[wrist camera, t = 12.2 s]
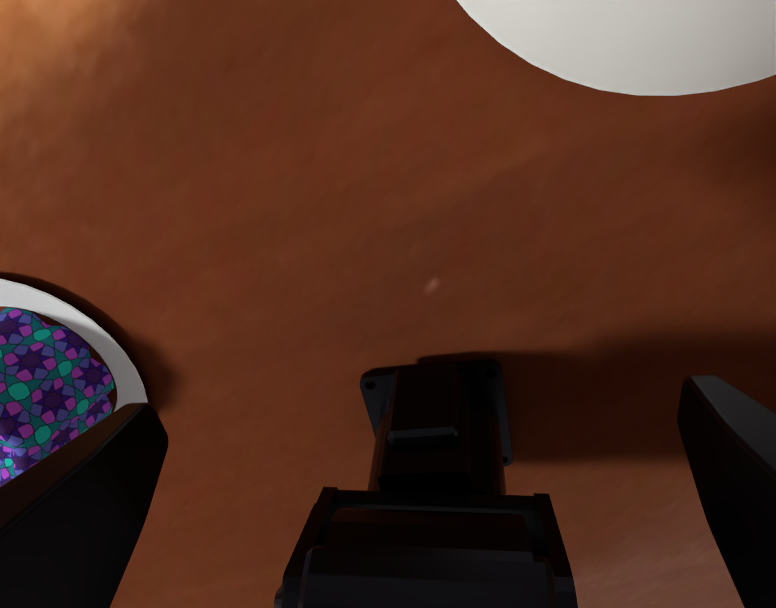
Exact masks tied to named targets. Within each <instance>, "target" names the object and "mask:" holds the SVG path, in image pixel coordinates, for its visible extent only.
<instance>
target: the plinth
mask: <svg viewBox="0 0 776 608" xmlns="http://www.w3.org/2000/svg"><path fill="white" fill-rule="evenodd" d="M457 1H458V2H459V4H460V5H461V6H462V7H463V8H464V10H465V11H466V12H467V13H468V14H469V16H470V17H471V18H472V19H474V20H475V21H476V22H477V23H478V24H479V25H480V26H481V27H482V28H484V29H485V30H486V31H487V32H488V33H489V34H490V35H491V36H492V37H494V38H495V39H496V40H497V41H498V42H499V43H500V44H502V45H503V46H505V47H506V48H508V49H509V50H511V51H512V52H514V53H515V54H517V55H518V56H520V57H521V58H523V59H524V60H526V61H527V62H529V63H530V64H532V65H535V66H537V67H539V68H541V69H543V70H545V71H547V72H550V73H552V74H554V75H556V76H558V77H560V78H562V79H565V80H568V81H571V82H575V83H578V84H582V85H585V86H588V87H592V88H595V89H598V90H604V91H611V92H618V93H624V94H631V95H656V96H677V95H685V94H694V93H702V92H711V91H718V90H722V89H726V88H730V87H734V86H738V85H743V84H747V83H751V82H755V81H759V80H762V79H764V78H767V77H770V76H773V75H776V0H457Z"/></svg>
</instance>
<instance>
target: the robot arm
mask: <svg viewBox="0 0 776 608" xmlns="http://www.w3.org/2000/svg"><path fill="white" fill-rule="evenodd" d="M487 370H494V372H491V373H489V372H486V371H487ZM368 381H372V382H374V384H370V383H368ZM360 388H361V392H362V395H363V398H364V401H365V405H366V408H367V411H368V415H369V418H370V421H371V424H372V428H373V431H374V434H375V438H376V441H375V448H374V454H373V460H372V466H371V472H370V479H369V485H368V491H360V490H338V488H337V487H323V489H322V491H321V494H320V496H319V498H318V501H317V503H315V504H314V506H313V508H312V510H311V513H310V515H309V517H308V519H307V522H306V524H305V526H304V529H303V531H302V533H301V535H300V538H299V540H298V542H297V544H296V547H295V549H294V551H293V554H292V556H291V558H290V560H289V563H288V565H287V567H286V569H285V572H284V575H283V582H282V585H281V586H280V588H279V589H278V590H277V592H276V595H275V599H274V608H578V605H577V598H576V591H575V586H574V581H573V576H572V572H571V568H570V564H569V561H568V557H567V554H566V551H565V547H564V544H563V541H562V537H561V534H560V530H559V527H558V524H557V520H556V517H555V514H554V510H553V507H552V503H551V500H550V497H549V494H538V493H534V496H519V495H506V486H505V475H504V467H505V466H508V465H510V464H511V463H512V462H513V455H512V447H511V439H510V431H509V423H508V415H507V408H506V400H505V392H504V384H503V376H502V369H501V365H500V363H498V362H497V361H495V360H479V361H469V362H459V363H449V364H439V365H429V366H419V367H409V368H399V369H389V370H379V371H369V372H365V373H364V374H363V375H362V376H361V380H360ZM677 420H678V428H679V432H680V435H681V438H682V442H683V445H684V448H685V451H686V455H687V458H688V461H689V465H690V468H691V471H692V474H693V478H694V481H695V484H696V488H697V491H698V494H699V497H700V501H701V504H702V507H703V510H704V513H705V516H706V519H707V522H708V524H709V527H710V529H711V532H712V534H713V537H714V539H715V541H716V544H717V546H718V548H719V550H720V553H721V555H722V557H723V559H724V562H725V564H726V566H727V569H728V571H729V573H730V575H731V578H732V580H733V582H734V585H735V587H736V589H737V591H738V594H739V596H740V598H741V600H742V603H743V605H744V607H745V608H776V413H775V412H773V411H772V410H770V409H769V408H767V407H765V406H764V405H762V404H761V403H759V402H758V401H756V400H754V399H753V398H751V397H750V396H748V395H747V394H745V393H744V392H742V391H740V390H739V389H737V388H736V387H734V386H733V385H731V384H729V383H728V382H726V381H725V380H723V379H722V378H720V377H718V376H716V375H712V374H707V375H690V376H687V377H686V378H685V379H684V381H683V384H682V390H681V397H680V403H679V409H678V416H677ZM167 448H168V436H167V433H166V431H165V429H164V427H163V425H162V423H161V421H160V418H159V416H158V414H157V412H156V410H155V408H154V407H153V406H152V405H151V404H150V403H146V402H142V403H129V404H125V405H124V406H122V407H121V408H119V409H118V410H116V411H115V412H113V413H112V414H110V415H108V416H107V417H105V418H104V419H102V420H101V421H99V422H98V423H96V424H95V425H93V426H92V427H90V428H89V429H87V430H86V431H84V432H83V433H81V434H80V435H78V436H77V437H75V438H74V439H72V440H71V441H69V442H68V443H66V444H65V445H63V446H62V447H60V448H59V449H57V450H56V451H54V452H53V453H51V454H49V455H48V456H46V457H45V458H43V459H42V460H40V461H39V462H37V463H36V464H34V465H33V466H31V467H30V468H28V469H27V470H25V471H24V472H22V473H21V474H19V475H18V476H16V477H15V478H13V479H12V480H10V481H9V482H7V483H6V484H4V485H3V486H1V487H0V608H110V605H111V603H112V601H113V598H114V596H115V593H116V591H117V589H118V586H119V584H120V581H121V579H122V577H123V574H124V572H125V570H126V567H127V565H128V562H129V560H130V558H131V555H132V553H133V550H134V548H135V546H136V543H137V541H138V538H139V536H140V533H141V531H142V528H143V526H144V523H145V520H146V517H147V514H148V511H149V508H150V504H151V501H152V498H153V494H154V491H155V488H156V485H157V481H158V478H159V475H160V472H161V468H162V465H163V462H164V459H165V455H166V452H167ZM503 456H505V457H503Z"/></svg>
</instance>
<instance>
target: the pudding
mask: <svg viewBox="0 0 776 608" xmlns="http://www.w3.org/2000/svg"><path fill="white" fill-rule="evenodd" d="M0 306H8V307H17V308H4V309H3V310H2V311H1V312H0V486H3V485H4V484H6V483H7V482H9V481H10V480H12V479H13V478H15V477H16V476H18V475H19V474H21V473H22V472H24V471H25V470H27V469H28V468H30V467H31V466H33V465H34V464H36V463H37V462H39V461H40V460H42V459H43V458H45V457H46V456H48V455H49V454H51V453H53V452H54V451H56V450H57V449H59V448H60V447H62V446H63V445H65V444H66V443H68V442H69V441H71V440H72V439H74V438H75V437H77V436H78V435H80V434H81V433H83V432H84V431H86V430H87V429H89V428H90V427H92V426H93V425H95V424H96V423H98V422H99V421H101V420H102V419H104V418H105V417H107V416H108V415H110V414H111V411H112V408H113V406H112V404H111V402H110V401H109V399H108V397H107V394H108V393H109V392H110V391H111V390H112V389H113V388H114V385H113V378H112V376H111V374H110V373H109V371H108V370H107V368H106V366H104V365H102V364H101V363H99V362H97V361H96V360H94V359H93V358H91V355H90V351H89V347H88V345H87V344H86V343H85V342H84V341H83V340H82V339H81V338H80V337H79V336H78V335H80V336H81V337H82V338H83V339H84V340H86V341H87V342H88V343H89V344H90V345H91V346H92V347H93V348H94V349H95V350H96V351H97V352H98V353H99V354H100V356H101V357H102V358H103V360H104V361H105V363H106V364H107V365H108V367H109V369H110V371H111V373H112V375H113V377H114V380H115V384H116V387H117V404H116V408H115V410H114V412H115V411H116V410H118V409H119V408H121V407H122V406H124V405H125V404H129V403H142V402H146V403H148V402H147V397H146V393H145V389H144V385H143V383H142V381H141V378H140V376H139V374H138V372H137V370H136V368H135V366H134V365H133V363H132V362H131V360H130V359H129V357H128V356H127V355H126V353H125V352H124V350H123V349H122V348H121V347H120V346H119V345H118V344H117V343H116V342H115V340H114V339H113V338H112V337H111V336H110V335H109V334H108V333H107V332H105V331H104V330H103V329H102V328H101V327H100V326H99V325H97V324H96V323H95V322H94V321H93V320H92V319H90V318H89V317H87V316H86V315H84V314H83V313H81V312H80V311H78V310H77V309H75V308H74V307H72V306H71V305H69V304H67V303H65V302H63V301H61V300H59V299H58V298H56V297H54V296H52V295H50V294H48V293H45V292H43V291H40V290H37V289H35V288H32V287H30V286H27V285H24V284H20V283H16V282H12V281H8V280H4V279H0ZM20 308H22V309H20ZM23 309H26V310H30V311H34V312H37V313H40V314H42V315H45V316H48V317H50V318H52V319H54V320H56V321H58V322H60V323H62V324H64V325H65V326H67V327H68V328H70V329H71V330H73V331H74V332H76V333H77V334H78V335H77V334H76V333H74V332H72V331H71V330H69V329H67V328H65V327H63V326H54V325H47V324H45V323H44V322H43V321H42V320H41V319H40V318H39V317H38V316H36V315H35V314H34V313H32V312H29V311H26V310H23Z"/></svg>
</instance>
